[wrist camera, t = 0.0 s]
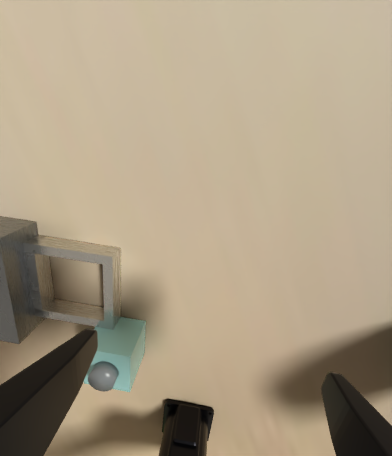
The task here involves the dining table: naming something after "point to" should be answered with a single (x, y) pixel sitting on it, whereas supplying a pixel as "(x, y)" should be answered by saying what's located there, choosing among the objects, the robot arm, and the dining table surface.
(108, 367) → the mint block with knob
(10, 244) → the square frame
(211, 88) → the dining table surface
